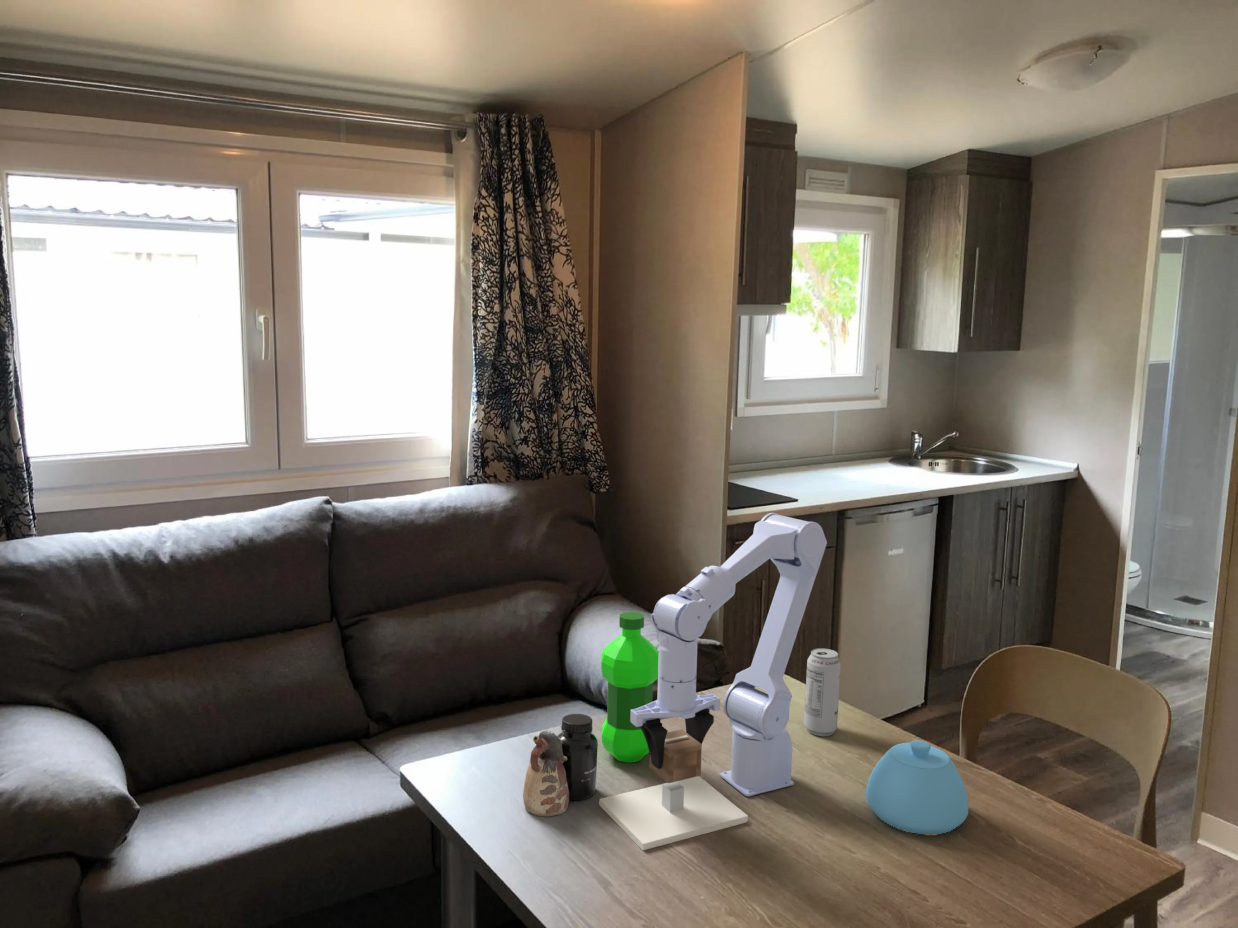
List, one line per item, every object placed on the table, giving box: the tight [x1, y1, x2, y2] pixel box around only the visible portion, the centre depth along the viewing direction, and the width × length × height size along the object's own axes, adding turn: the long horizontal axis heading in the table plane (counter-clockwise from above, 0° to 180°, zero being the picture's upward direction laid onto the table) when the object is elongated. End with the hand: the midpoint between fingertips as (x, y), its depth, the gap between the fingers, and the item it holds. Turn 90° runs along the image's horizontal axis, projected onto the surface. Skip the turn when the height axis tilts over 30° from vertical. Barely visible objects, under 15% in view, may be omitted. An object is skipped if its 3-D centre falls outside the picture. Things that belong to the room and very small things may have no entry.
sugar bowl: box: [865, 739, 970, 834], centre depth 143 cm, size 15×15×12 cm
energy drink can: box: [803, 648, 842, 737], centre depth 172 cm, size 6×6×15 cm
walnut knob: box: [649, 729, 703, 783], centre depth 141 cm, size 6×6×5 cm
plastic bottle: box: [600, 611, 659, 763], centre depth 160 cm, size 10×10×25 cm
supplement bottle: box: [557, 713, 599, 801], centre depth 148 cm, size 7×7×12 cm
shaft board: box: [598, 776, 749, 851], centre depth 142 cm, size 18×14×4 cm
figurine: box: [522, 729, 570, 818], centre depth 143 cm, size 7×7×12 cm
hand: (674, 761), depth 141 cm, fingers closed on walnut knob, 6 cm apart
